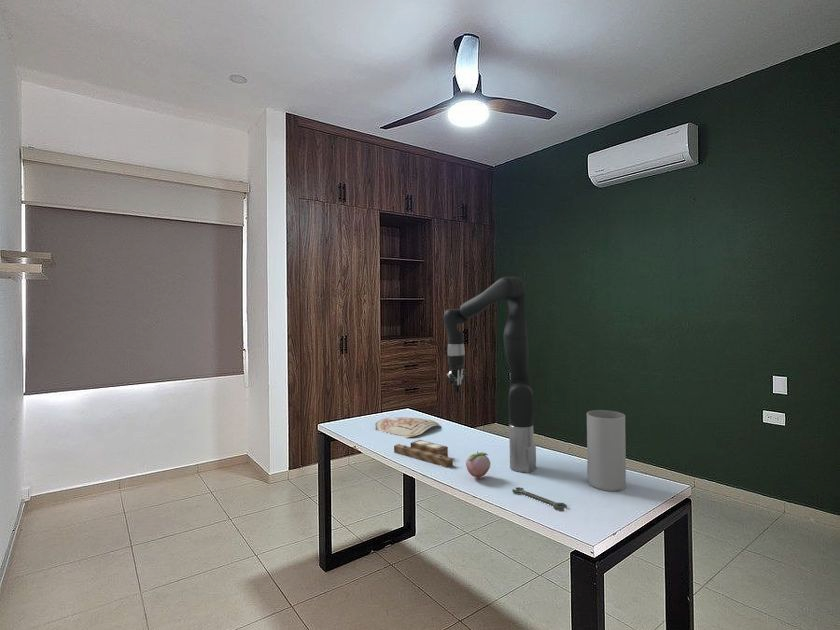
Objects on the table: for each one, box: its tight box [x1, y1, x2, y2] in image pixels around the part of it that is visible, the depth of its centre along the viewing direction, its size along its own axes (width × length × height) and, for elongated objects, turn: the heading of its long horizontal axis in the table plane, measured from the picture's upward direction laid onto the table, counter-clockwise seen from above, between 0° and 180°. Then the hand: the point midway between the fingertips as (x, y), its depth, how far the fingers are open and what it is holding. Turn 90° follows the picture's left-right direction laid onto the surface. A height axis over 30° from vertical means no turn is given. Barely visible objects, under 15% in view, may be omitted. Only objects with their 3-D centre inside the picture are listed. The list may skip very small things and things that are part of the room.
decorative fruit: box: [465, 451, 491, 479], centre depth 167 cm, size 9×8×10 cm
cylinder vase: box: [586, 409, 627, 492], centre depth 158 cm, size 12×12×25 cm
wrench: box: [511, 486, 568, 512], centre depth 148 cm, size 5×20×1 cm, turn 40°
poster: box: [375, 416, 441, 439], centre depth 237 cm, size 28×6×30 cm
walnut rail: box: [393, 443, 454, 469], centre depth 189 cm, size 30×3×4 cm, turn 49°
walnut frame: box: [410, 439, 449, 457], centre depth 193 cm, size 16×6×5 cm, turn 47°
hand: (457, 393), depth 198 cm, fingers closed
